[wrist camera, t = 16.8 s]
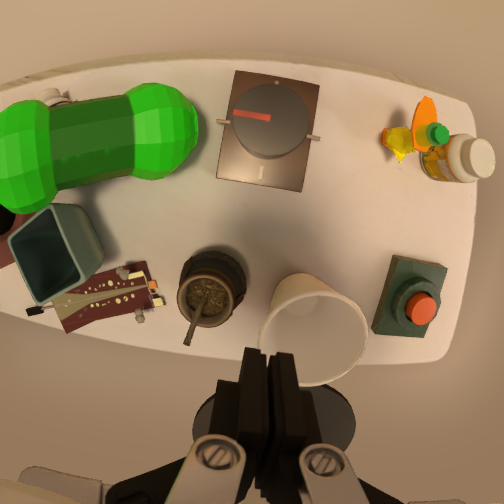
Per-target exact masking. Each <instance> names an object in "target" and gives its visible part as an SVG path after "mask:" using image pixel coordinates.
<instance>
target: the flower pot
mask: <svg viewBox="0 0 504 504" xmlns="http://www.w3.org/2000/svg"><path fill="white" fill-rule="evenodd" d="M7 242H8V245H9V247H10V250H11V252H12V254H13V257H14V259H15V261H16V264H17V266H18V268H19V270H20V273H21V275H22V277H23V279H24V281H25V283H26V286H27V288H28V289H29V291H30V293H31V296H32V298H33V300H34V301H35V303H36V304H37V306H43V305H44V304H46V303H48V302H49V301H51V300H53V299H55V298H56V297H58V296H60V295H62V294H63V293H65V292H67V291H69V290H71V289H73V288H75V287H77V286H79V285H81V284H83V283H84V282H85V281H86V280H87V279H89V278H90V277H91V276H92V275H93V274H94V273H95V272H96V271H97V270H98V269H99V268H100V267H101V265H102V263H103V261H104V251H103V247H102V245H101V243H100V241H99V239H98V237H97V235H96V233H95V230H94V228H93V226H92V224H91V221H90V219H89V217H88V216H87V214H86V213H85V212H84V210H82V209H81V208H80V207H78V206H76V205H73V204H62V203H50V205H48V206H46V207H44V208H42V209H41V210H39V211H38V212H37V213H36V214H35V215H34V216H32V217H31V218H30V219H29V220H27V221H26V222H25V223H24V224H23V225H22V226H21V227H19V228H18V229H17V230H16V231H15V232H13V233H12V234H11V235H10V236H9V237H8V239H7Z"/></svg>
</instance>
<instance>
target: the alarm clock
mask: <svg viewBox="0 0 504 504" xmlns="http://www.w3.org/2000/svg"><path fill="white" fill-rule="evenodd" d="M34 215H35V212H32V213H29V214H17V213H12V212H11V211H9V210H8V209H7V208H5V207H4V206H3V205H1V204H0V269H1V268H3V267H5V266H7V265H9V264H12V263H14V262H15V259H14V257H13V254H12V252H11V250H10V247H9V245H8V242H7V239H8V237H9V236H10V235H11V234H12V233H13V232H15V231H16V230H17V229H18V228H19V227H21V226H22V225H23V224H24V223H25V222H26V221H27V220H29V219H30V218H31V217H32V216H34Z"/></svg>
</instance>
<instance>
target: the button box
mask: <svg viewBox="0 0 504 504" xmlns="http://www.w3.org/2000/svg"><path fill="white" fill-rule="evenodd" d="M447 269H448V268H446V267H444V266H442V265H440V264H435V263H430V262H425V261H420V260H415V259H410V258H405V257H400V256H395V255H393V257H392V260H391V264H390V268H389V271H388V275H387V278H386V282H385V285H384V289H383V292H382V295H381V299H380V302H379V305H378V308H377V311H376V314H375V317H374V320H373V323H372V326H371V329H372V331H373V332H374V333H375V334H380V335H392V336H405V337H419V338H424V336H425V333H426V331H427V328H428V326H429V323H430V322H431V321H432V320H433V319H434V318H435V317H436V315H437V312H438V310H439V307H440V304H441V300H440V292H441V289H442V286H443V283H444V279H445V276H446V273H447ZM419 292H423V293H426V294H427V295H428V296H430V297H431V298H432V299H433V300H434V301H435V302H436V312H435V315H434V317H433V318H432V319H431V320H430V321H429V322H428V323H426V324H424V325H417V324H415V323H414V322H413V321H412V320H411V319H410V318H409V317H408V316H407V314H406V305H407V302H408V300H409V299H410V298H411V297H412V296H413V295H414V294H416V293H419Z"/></svg>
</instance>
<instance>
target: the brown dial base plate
mask: <svg viewBox="0 0 504 504" xmlns="http://www.w3.org/2000/svg"><path fill="white" fill-rule="evenodd" d="M262 84H278V85H282V86H285V87H287V88H289V89H291V90H292V91H294V92H295V93H296V94H298V95H299V96H300V98H301V99H302V100H303V102H304V103H305V105H306V107H307V110H308V113H309V129H308V132H307V135H306V137H305V138H304V140H303V141H302V143H301V144H300V145H299V146H298V147H297V148H295V149H294V150H293V151H291V152H290V153H288V154H287V155H285V156H283V157H281V158H278V159H273V160H266V159H260V158H257V157H255V156H253V155H251V154H250V153H248V152H247V151H246V150H245V149H244V148H243V147H242V145H241V144H240V142H239V140H238V138H237V136H236V134H235V132H234V129H233V124H232V115H233V110H234V107H235V105H236V103H237V101H238V99H239V98H240V97H241V96H242V95H243V94H244V93H245V92H246V91H248V90H249V89H251V88H253V87H255V86H258V85H262ZM319 87H320V86H319V85H316V84H312V83H307V82H303V81H298V80H293V79H288V78H282V77H277V76H271V75H265V74H259V73H252V72H245V71H237V70H236V71H235V76H234V81H233V86H232V91H231V96H230V101H229V106H228V111H227V116H226V120H221V119H217V121H216V122H217V123H225V127H224V133H223V138H222V144H221V150H220V155H219V161H218V167H217V173H216V178H219V179H226V180H232V181H239V182H245V183H251V184H257V185H262V186H268V187H274V188H279V189H285V190H290V191H295V192H300V193H301V192H302V188H303V182H304V177H305V171H306V166H307V160H308V154H309V148H310V143H311V139H315V140H320V137H318V136H313V135H312V131H313V125H314V119H315V112H316V106H317V100H318V93H319Z"/></svg>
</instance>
